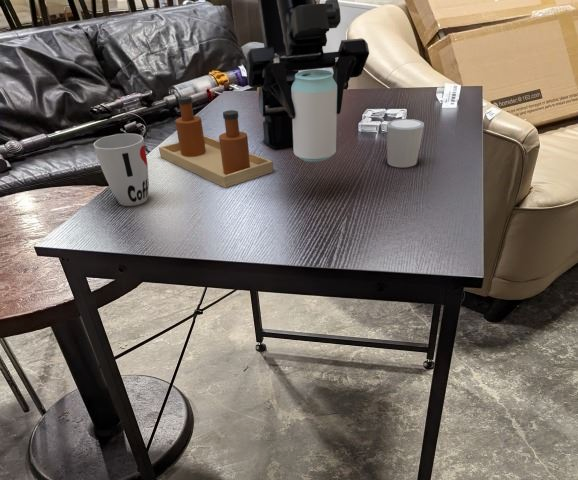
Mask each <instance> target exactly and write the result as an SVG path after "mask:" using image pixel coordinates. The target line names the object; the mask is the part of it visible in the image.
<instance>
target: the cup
mask: <svg viewBox="0 0 578 480" xmlns="http://www.w3.org/2000/svg"><path fill="white" fill-rule="evenodd" d="M93 148H94V151H95V154H96V157H97V160H98V162H99V165H100V169H101V172H102V173H103V175H104V177H105V180H106V182H107V184H108V186H109V189H110V191H111V192H112V194H113V195H114V197H115V199H116V200H117V202H118V204H119V205H121V206H124V207H133V206H134V207H135V206H138V205H141V204H144V203H145V202H147V201H148V198H149V185H150V181H149V164H148V158H147V152H146V147H145V141H144V137H143V135H141V134H138V133H118V134H112V135H108V136H104V137H101V138H99V139H97V140H96V141H94V142H93Z"/></svg>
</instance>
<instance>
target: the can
mask: <svg viewBox="0 0 578 480" xmlns="http://www.w3.org/2000/svg"><path fill="white" fill-rule="evenodd" d="M298 72H299V73H297V74H296V75H295V81H294V83H293V84H292V87H291V96H292V101H293V104H294V110H295V119H292V123H293V146H292V147H293V155H295V156H296V157H297V158H299V160H302V161H304V162H310V163H311V162H312V163H313V162H315V163H316V162H317V163H318V162H323V161H326V160H329V159H330V158H331V157H333V156H334V155H335V154H336V153H337V130H338V129H337V128H338V127H337V124H338V121H337V120H338V114H337V84H336V82H335V80H334V79H333V71H330V70H325V69H311V70H301V71H298Z"/></svg>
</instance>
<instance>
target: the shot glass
mask: <svg viewBox="0 0 578 480" xmlns="http://www.w3.org/2000/svg"><path fill="white" fill-rule="evenodd" d="M424 129H425V122H423V120H419V119H413V118H399V119H392V120H389V121H388V122H387V123H386V157H387V159H386V161H387V164H388V166H391V167H395V168H411V167H414V166H416V165H417V163H418V159H419V155H420V149H421V143H422V140H423V139H422V138H423V133H424Z"/></svg>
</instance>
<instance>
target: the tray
mask: <svg viewBox="0 0 578 480" xmlns="http://www.w3.org/2000/svg"><path fill="white" fill-rule="evenodd" d="M203 135H204V142H205V149H206V152H205V153H204V154H202V155H200V156H195V157H186V156H182V155H181V151H180V145H179V141H177V142H173V143H169V144H166V145H163V146H159V147H158V150H159V156H160V158H162V159H164V160H166V161H167V162H170V163H172V164H174V165H175V166H178V167H180V168H182V169H185V170H187V171H188V172H191V173H193V174H195V175H197V176H199V177H201V178H203V179H206V180H208V181H210V182H212V183H214V184H216V185H218V186H220V187H222V188H225V189H227V188H229V187H232V186H236V185H238V184H242V183H246V182H247V181H251V180H253V179H257V178H259V177H262V176H265V175H269V174H271V173H274V161H273V160H271V159H268V158H265V157H263V156H260V155H257V154H255V153H252V152H250V151H249V160H250V168H247V169H243V170H240V171H237V172H234V173H231V174H228V175H225V174H224V173H223V165H222V158H221V150H220V142H219V139H217V138H213V137H210V136H208V135H206V134H203Z"/></svg>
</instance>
